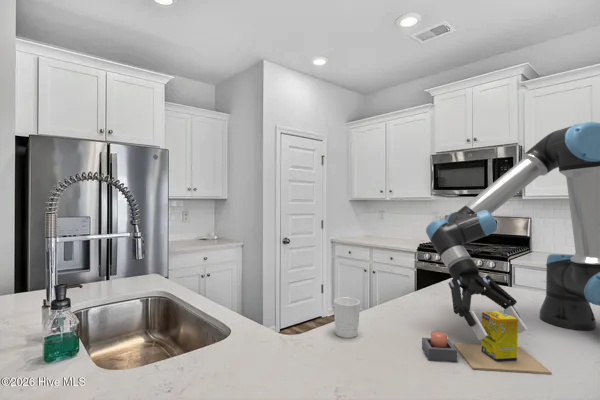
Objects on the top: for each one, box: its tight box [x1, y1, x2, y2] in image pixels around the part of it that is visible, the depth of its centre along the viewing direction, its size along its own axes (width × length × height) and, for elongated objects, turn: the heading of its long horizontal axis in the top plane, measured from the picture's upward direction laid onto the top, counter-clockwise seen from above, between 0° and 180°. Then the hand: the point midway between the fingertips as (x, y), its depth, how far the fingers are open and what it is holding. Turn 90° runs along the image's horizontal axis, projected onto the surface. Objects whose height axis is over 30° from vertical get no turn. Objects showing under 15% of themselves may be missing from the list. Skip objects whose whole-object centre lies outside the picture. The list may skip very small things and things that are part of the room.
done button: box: [430, 330, 448, 348], centre depth 91 cm, size 4×4×4 cm
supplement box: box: [480, 310, 519, 362], centre depth 90 cm, size 6×6×11 cm
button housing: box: [421, 337, 458, 363], centre depth 91 cm, size 7×7×3 cm
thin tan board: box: [452, 342, 552, 375], centre depth 90 cm, size 18×14×1 cm
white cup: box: [333, 296, 361, 339], centre depth 105 cm, size 8×8×10 cm
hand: (503, 334), depth 88 cm, fingers open, 13 cm apart
